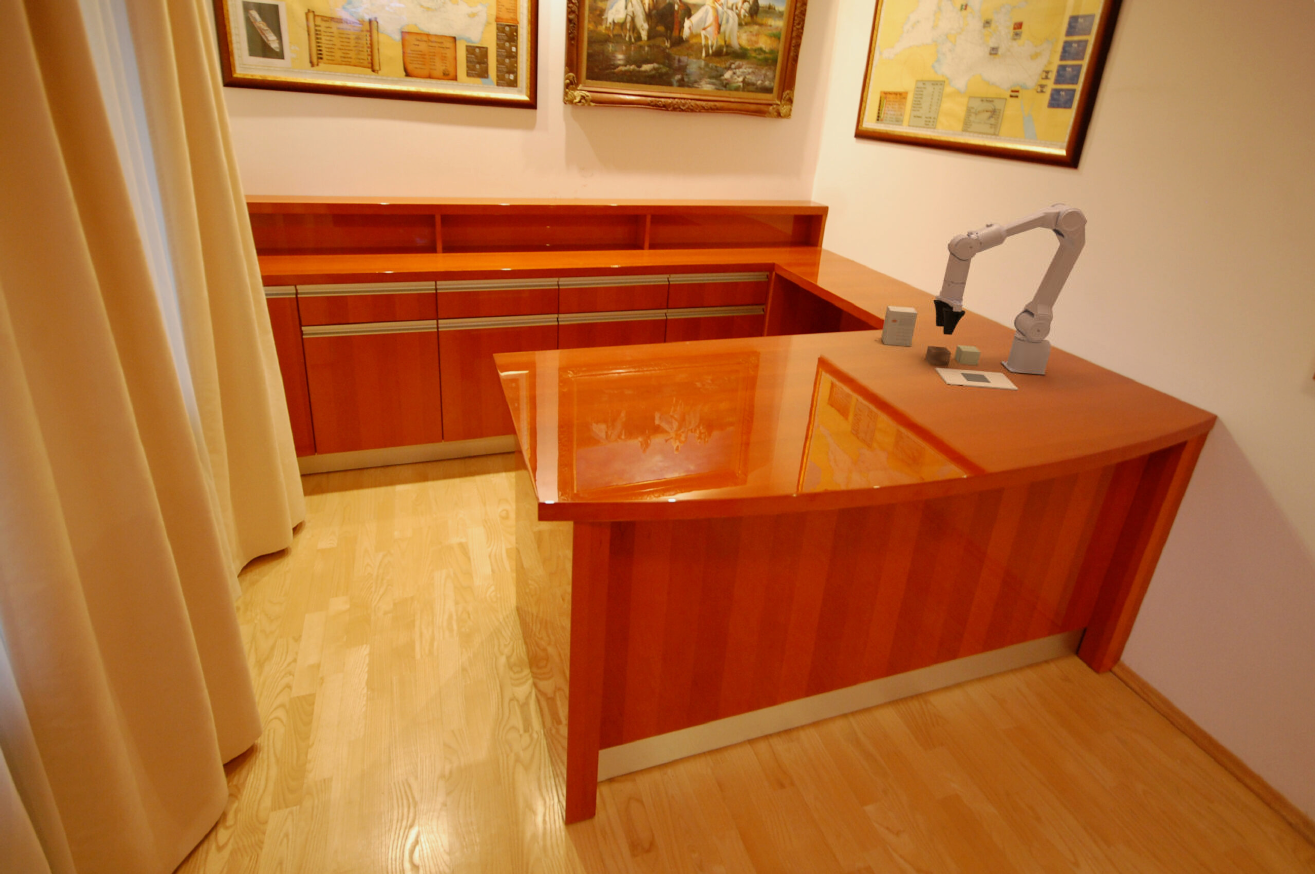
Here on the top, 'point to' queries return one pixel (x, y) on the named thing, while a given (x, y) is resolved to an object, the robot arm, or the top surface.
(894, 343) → the small box
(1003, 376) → the board
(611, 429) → the top surface
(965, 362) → the sage block
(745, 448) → the top surface
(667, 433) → the top surface
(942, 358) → the walnut block
